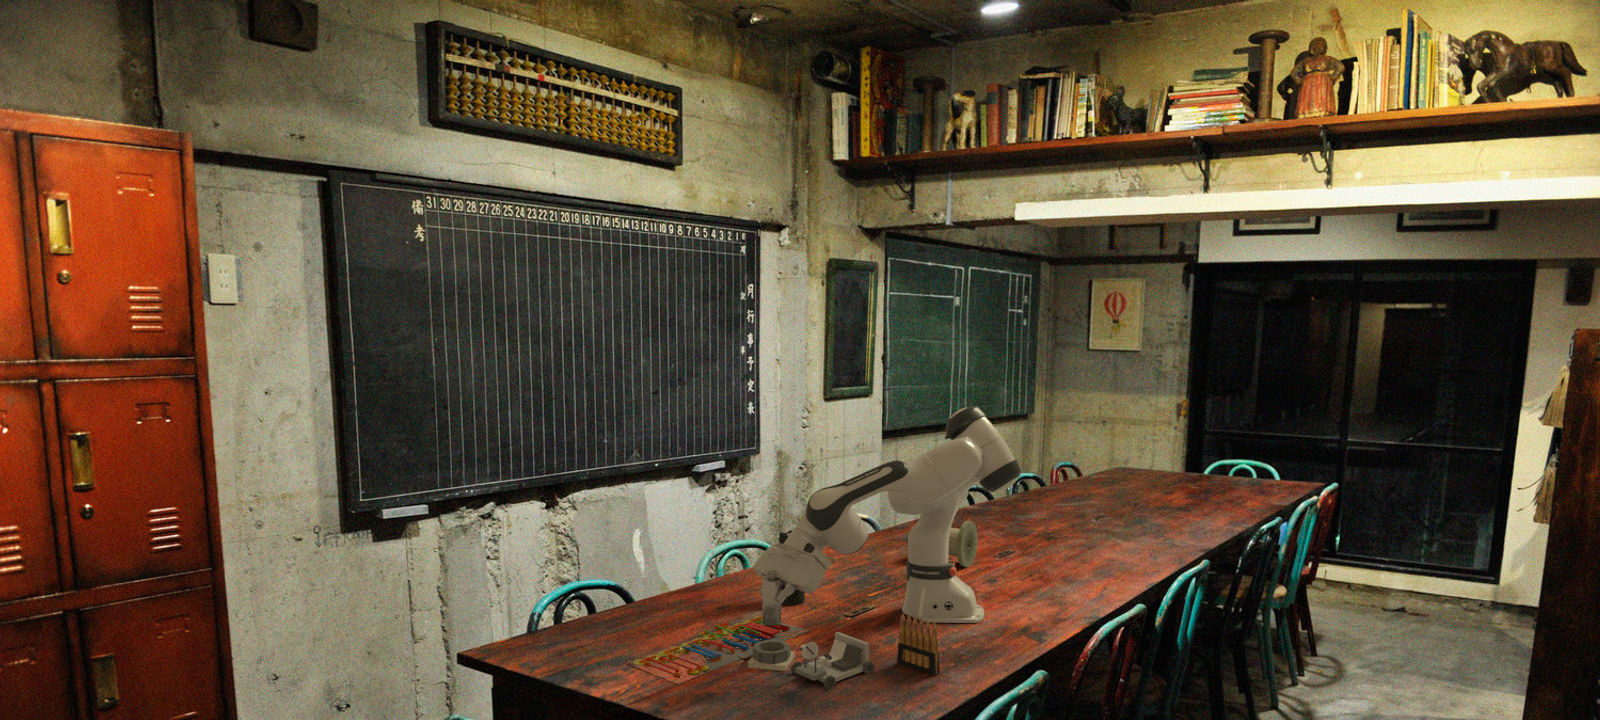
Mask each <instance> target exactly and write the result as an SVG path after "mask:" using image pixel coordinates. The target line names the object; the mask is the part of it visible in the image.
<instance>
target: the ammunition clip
mask: <svg viewBox="0 0 1600 720" xmlns="http://www.w3.org/2000/svg"><path fill="white" fill-rule="evenodd" d="M905 618H906V617H905V613H904V612H902V613H901V615H900V621H899V624H900V625H899V633H898V643H897V657H896V663H897V664H898V665H899V666H902V667H905V668H909V669H913V670H914V671H918V672H921V673H924V674H927V675H930V676H933V677H935V676H937V675H940V651H939V649H938V647H939V644H938V643H939V641H938V632H937V631H938V630H937V629H938V627H937V625H936V622H932V626H931V624H930V622H929V621H928V620H927V622H925V626H924V622H923V620H922V618H921V619H920V620H919V623H918V619H917V618H916V617H913V618H912V617H911V616H910V615H907V618H906V619H905ZM911 618H912V619H913V621H912V619H911Z"/></svg>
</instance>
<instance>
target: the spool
mask: <svg viewBox="0 0 1600 720" xmlns="http://www.w3.org/2000/svg"><path fill="white" fill-rule="evenodd" d="M978 536H979V535H978V530H977V526H976V524H975V522H974V521H972V520H965V521H963V523H962V525H960V528H956V527H951V529H950V533H949V546H948V556H951V557H956V558H957V561H958V563H959V565H960V566H961V567H963V568H969V567H971V566H972V565H973V563H974V561H975V559H976V555H977V550H978V544H979V543H978V539H979V538H978Z"/></svg>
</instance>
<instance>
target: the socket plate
mask: <svg viewBox="0 0 1600 720" xmlns="http://www.w3.org/2000/svg"><path fill="white" fill-rule="evenodd" d="M795 654H796V653H795V651H792V650H791V645H790V643H787V642H786V641H780V640H765V641H761V642H758V643H756V644H755V645H754V646H753V654H752V655H751V656H752V657H751V658H750V659H749V660H748V661H747V668H749V669H760V670H768V671H769V670H772V671H782V672H786V671H787V670H788V669H789V666H790V665H791V663H792V661H793V660H794V658H795V656H796V655H795Z"/></svg>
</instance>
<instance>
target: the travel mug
mask: <svg viewBox="0 0 1600 720" xmlns="http://www.w3.org/2000/svg"><path fill="white" fill-rule="evenodd" d="M792 530H793V529H792ZM792 530H788V531H787V532H783V531H780V532H779V534H778V535H779V538H778V539H779V540H778V541H779V542H778V543H780V544H782V545H783V544H784V542H785V541H786V539H787V538H788V536H789V535H790V533H791V532H792ZM785 588H786V587H785V585H783V584H781V591H782V590H784V589H785ZM805 594H806V592H803V591H800V590H797V589H795V591H794V593H792V594H791V595H789V596H788V597H786V598H785V600H784V601H783V603H781V605H784V604H785V605H784V606H791V605H793V606H799V605H798V604H800V605H803V604H804V603H805V596H806V595H805ZM802 603H803V604H802Z"/></svg>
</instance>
